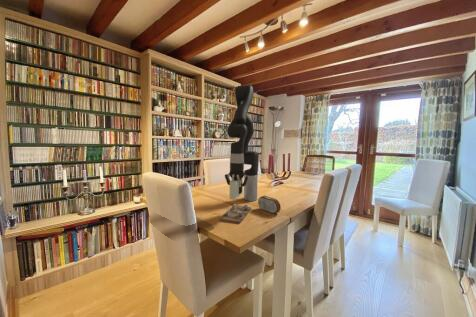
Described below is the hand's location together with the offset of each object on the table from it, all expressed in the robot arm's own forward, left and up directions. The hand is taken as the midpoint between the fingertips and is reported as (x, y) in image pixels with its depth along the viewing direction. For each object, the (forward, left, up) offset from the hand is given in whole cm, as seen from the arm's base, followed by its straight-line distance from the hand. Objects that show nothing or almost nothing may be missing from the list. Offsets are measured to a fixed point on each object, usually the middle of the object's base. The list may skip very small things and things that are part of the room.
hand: (236, 193), depth 111 cm
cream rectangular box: (0, 0, -2) cm, 2 cm away
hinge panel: (0, 0, -12) cm, 12 cm away
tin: (-11, +16, -12) cm, 23 cm away
